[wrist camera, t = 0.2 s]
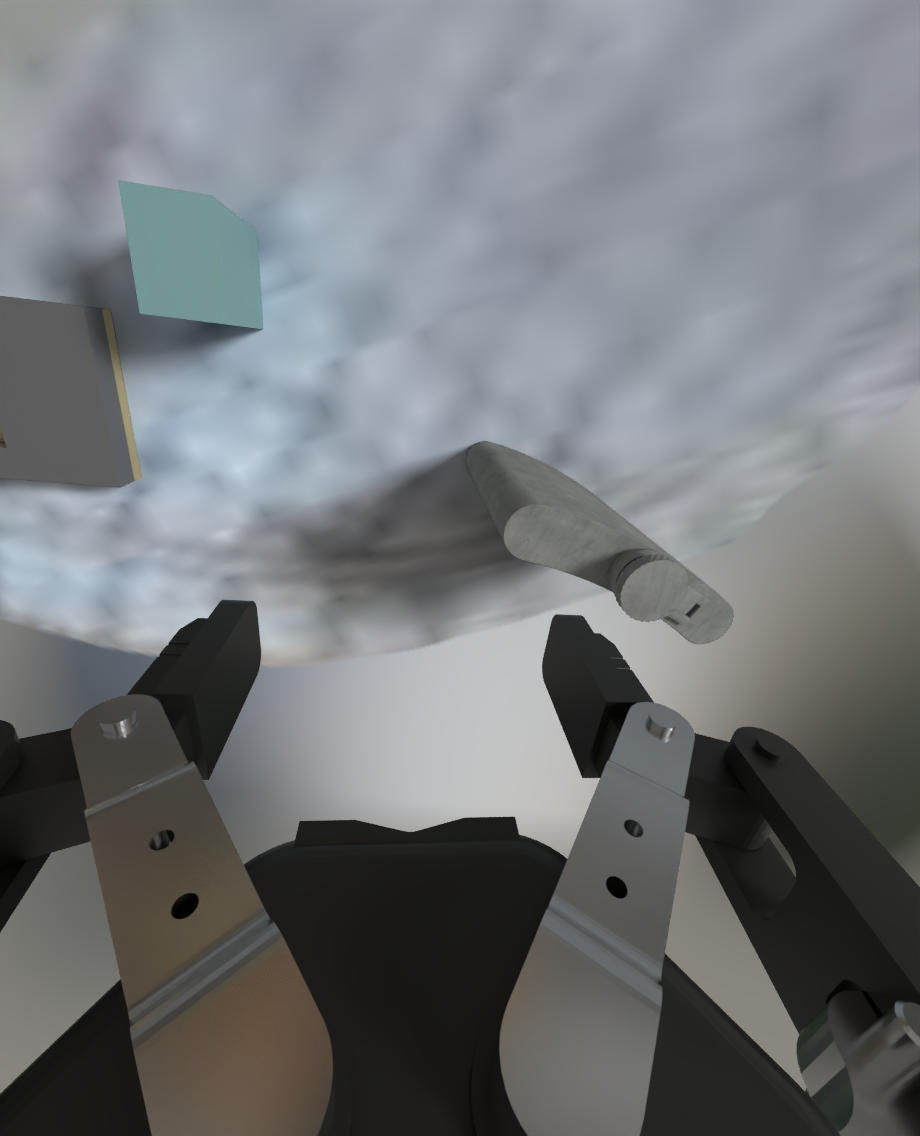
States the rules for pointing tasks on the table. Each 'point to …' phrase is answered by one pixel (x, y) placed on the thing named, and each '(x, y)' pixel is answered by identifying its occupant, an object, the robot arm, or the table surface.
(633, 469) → the table surface
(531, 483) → the hip flask
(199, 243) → the plug
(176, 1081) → the robot arm
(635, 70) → the table surface
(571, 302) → the table surface
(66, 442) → the block
